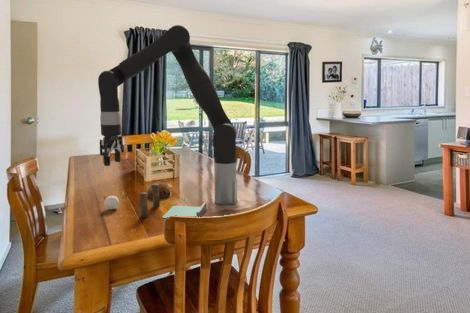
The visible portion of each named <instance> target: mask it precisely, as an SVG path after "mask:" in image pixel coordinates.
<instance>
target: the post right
mask: <svg viewBox="0 0 470 313" xmlns="http://www.w3.org/2000/svg"><path fill="white" fill-rule="evenodd" d="M151 185H152V184H151ZM152 190H153V198H152V206H153V207H154V208H159V207H160V205H161V203H160V199H159V184H155V183H153V185H152Z"/></svg>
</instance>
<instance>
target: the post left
mask: <svg viewBox="0 0 470 313" xmlns="http://www.w3.org/2000/svg"><path fill="white" fill-rule="evenodd" d="M139 206H140V208H139V209H140V210H139V211H140V217H141V218H143V219H146V218H148V217H149V215H148V212H149V211H148V210H149V209H148V194H147V192H144V191H143V192H139Z"/></svg>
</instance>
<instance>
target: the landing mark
mask: <svg viewBox="0 0 470 313" xmlns="http://www.w3.org/2000/svg"><path fill="white" fill-rule="evenodd" d="M200 207H201V206H188V205H187V206H186V205H185V206H184V205H173V206H171V208H169V210H168V211H167V212H165V214H163V215H162V216H161V219H168V218H167V217H170V216H175V215H177V216H196V212H197V211H198V210H199V208H200ZM207 209H208V207H207V206H206V209H205V211H206V210H207Z"/></svg>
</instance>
